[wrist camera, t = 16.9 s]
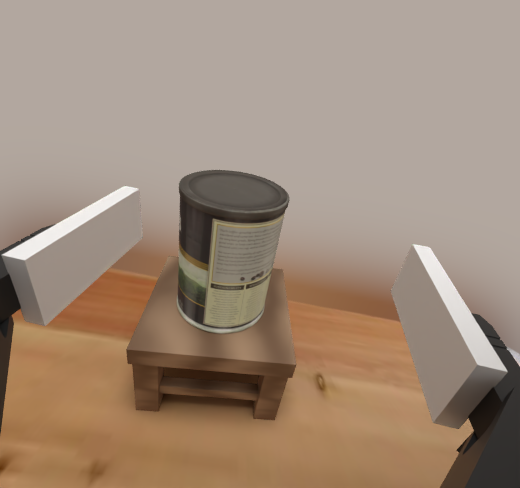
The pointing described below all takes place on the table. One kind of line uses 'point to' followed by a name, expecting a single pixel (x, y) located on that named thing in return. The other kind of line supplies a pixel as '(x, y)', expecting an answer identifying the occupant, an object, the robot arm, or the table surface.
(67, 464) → the table surface
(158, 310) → the stool
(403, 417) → the table surface
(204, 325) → the coffee can
